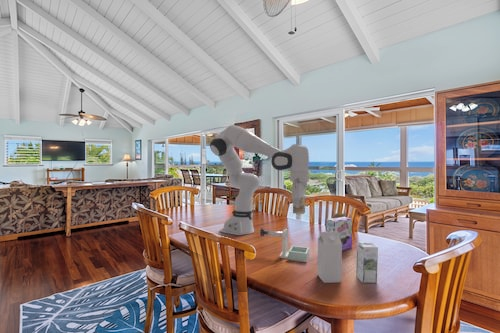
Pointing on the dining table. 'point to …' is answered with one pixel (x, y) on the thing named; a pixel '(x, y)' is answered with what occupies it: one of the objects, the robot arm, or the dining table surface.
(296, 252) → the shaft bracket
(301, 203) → the block
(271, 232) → the shaft
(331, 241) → the milk carton
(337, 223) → the candy box
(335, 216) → the fruit
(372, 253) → the syrup box
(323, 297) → the dining table surface
